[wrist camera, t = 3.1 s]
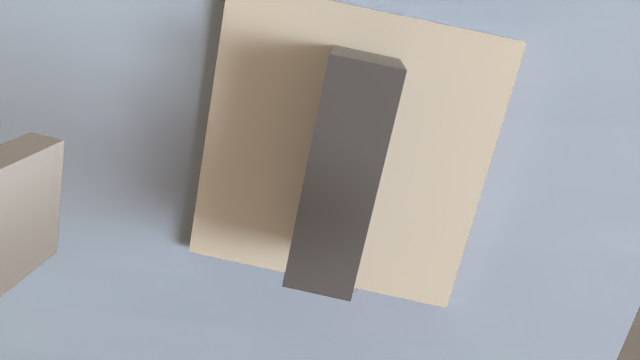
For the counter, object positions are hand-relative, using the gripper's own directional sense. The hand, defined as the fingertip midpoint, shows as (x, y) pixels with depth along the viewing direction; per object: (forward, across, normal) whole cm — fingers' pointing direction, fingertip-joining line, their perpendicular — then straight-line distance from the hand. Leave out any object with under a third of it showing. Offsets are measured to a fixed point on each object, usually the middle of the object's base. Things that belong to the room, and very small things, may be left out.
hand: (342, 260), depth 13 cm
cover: (+11, 0, 0) cm, 11 cm away
